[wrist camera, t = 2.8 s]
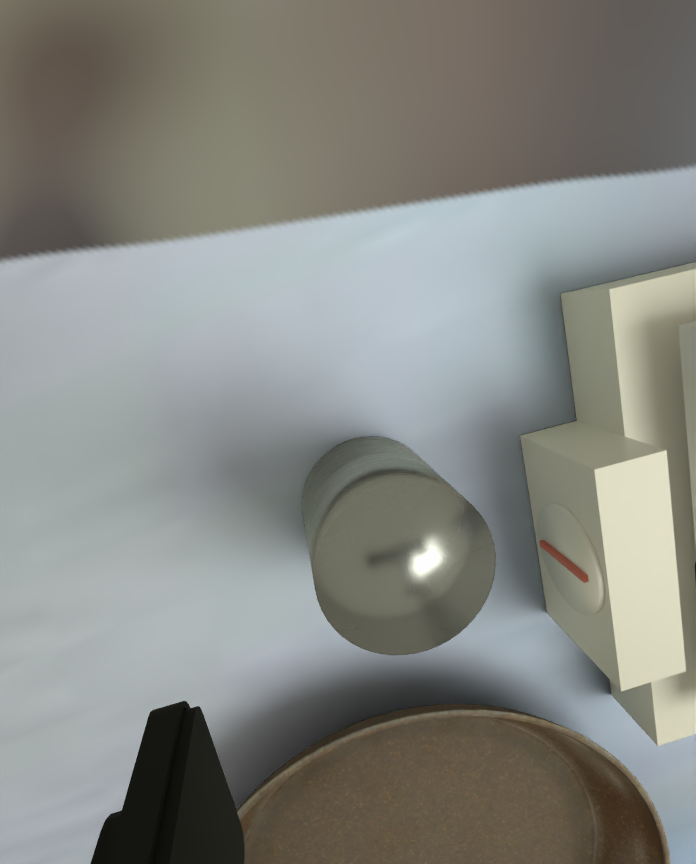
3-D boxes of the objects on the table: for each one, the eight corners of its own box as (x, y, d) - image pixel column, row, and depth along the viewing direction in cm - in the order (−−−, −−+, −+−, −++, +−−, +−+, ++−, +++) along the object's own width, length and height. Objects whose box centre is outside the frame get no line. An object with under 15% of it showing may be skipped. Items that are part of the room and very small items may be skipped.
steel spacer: (391, 584, 22) (435, 681, 16) (277, 529, 21) (279, 611, 15) (458, 474, 21) (529, 533, 15) (345, 412, 20) (375, 449, 14)
